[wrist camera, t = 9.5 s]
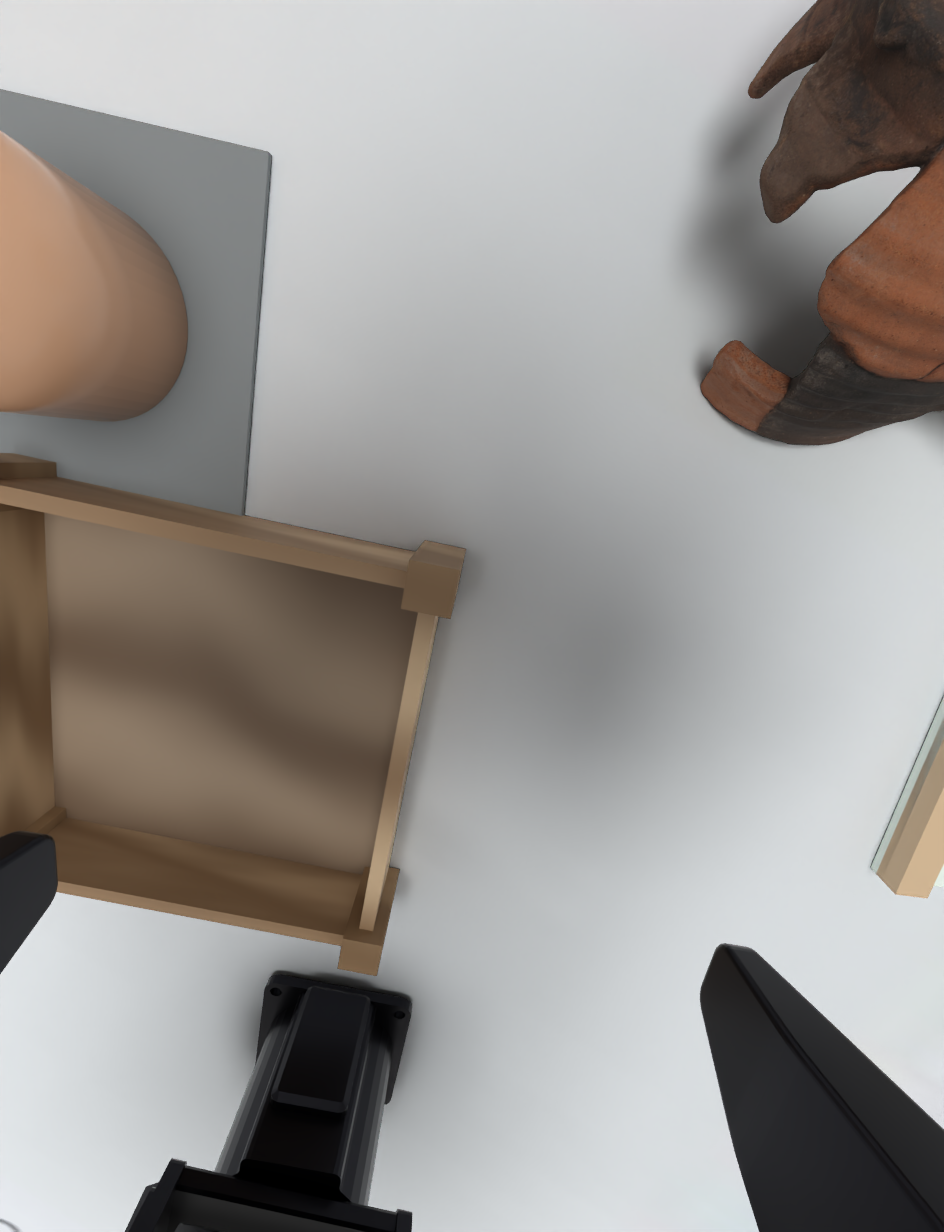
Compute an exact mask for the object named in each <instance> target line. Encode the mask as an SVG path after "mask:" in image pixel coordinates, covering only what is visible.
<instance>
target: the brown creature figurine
mask: <svg viewBox="0 0 944 1232" xmlns="http://www.w3.org/2000/svg"><path fill="white" fill-rule="evenodd" d="M816 62H817V63H816ZM813 63H816V64H815V65H814V66H813V67H812V68H811V69H810V70H809V72H808V73H807V74H806V75H805V76H804V78H803V80H802V82H801V84H800V86H799V88H798V90H797V91H796V93H795V94H794V96H793V97H792V99H791V101H790V103H789V105H788V108H787V111H786V114H785V116H784V120H783V124H782V128H781V132H780V136H779V139H778V142H777V144H776V145H775V147H774V148H773V150H772V151H771V153H770V154H769V156H768V157H767V159H766V160H765V163H764V165H763V167H762V169H761V174H760V189H761V195H762V200H763V206H764V210H765V214H766V215H767V217H768V218H769V220H770V221H771V222H773V223H780V222H782V221H784V220H785V219H787V218H789V217H790V216H791V215H792V214H793V213H795V212H796V211H797V210H798V209H799V208H800V207H801V206H802V205H803V204H804V203H805V202H806V201H807V200H808V199H809V198H810V196H811V195H812V194H813V193H814V192H815V191H817V190H824V189H830V188H834V187H836V186H838V185H840V184H842V183H845V182H848V181H851V180H854V179H857V178H859V177H863V176H866V175H869V174H872V173H875V172H879V171H894V170H898V169H903V168H908V167H920V171H919V173H918V174H917V175H916V177H915V178H914V179H913V180H912V181H911V182H910V183H909V184H908V185H907V186H906V187H905V188H904V189H903V190H902V191H901V192H900V193H899V194H898V195H897V196H896V198H895V199H894V200H893V201H892V202H891V204H890V205H889V206H888V207H887V208H886V209H885V210H884V211H883V212H882V213H881V215H880V216H879V217H878V218H877V219H876V220H875V221H874V222H873V223H872V224H871V225H870V226H869V227H868V228H867V229H866V230H865V231H863V233H862V234H861V235H860V236H859V237H858V238H857V239H856V240H855V241H853V242H852V243H851V244H850V245H849V246H848V247H846V248H845V249H844V250H843V251H842V252H841V253H839V254H838V255H837V256H836V257H835V258H834V259H833V261H832V262H831V263H830V265H829V266H828V268H827V270H826V276H825V279H824V281H823V282H822V285H821V287H820V290H819V293H818V303H817V309H818V312H819V314H820V316H821V318H822V320H823V322H824V324H825V325H826V326H827V327H828V328H829V330H830V335H829V336H827V338H826V339H825V340H824V341H823V342H822V343H821V344H820V345H819V347H818V349H817V351H816V354H815V355H814V357H813V359H812V360H811V362H810V363H809V365H808V366H807V368H806V369H805V370H804V372H802V373H801V374H800V375H798V376H796V377H795V378H790V377H789V376H787V375H785V374H784V373H782V372H780V371H778V370H775V369H773V368H772V367H771V366H770V365H769V364H767V363H766V362H764V361H762V360H761V359H760V358H759V357H758V356H757V355H755V354H754V353H753V352H751V351H750V350H749V349H748V348H747V347H746V346H745V345H744V344H743V343H742V342H741V341H737V340H734V341H731V342H729V343H727V344H726V345H725V346H724V347H723V348H722V349H721V350H720V351H719V353H718V354H717V356H716V357H715V359H714V362H713V367H712V369H711V370H710V371H709V372H708V374H707V375H706V377H705V379H704V380H703V382H702V384H701V391H702V393H703V395H704V396H705V397H706V398H707V399H708V400H709V401H710V403H711V404H712V405H713V406H714V407H715V408H716V409H717V410H719V411H720V412H721V413H723V414H724V415H726V416H727V417H728V418H729V419H730V420H732V421H734V422H735V423H737V424H740V425H741V426H743V427H745V428H746V429H749V430H752V431H755V432H756V433H757V434H759V435H761V436H763V437H767V438H769V439H773V440H777V441H782V442H785V443H787V444H796V445H823V444H831V443H836V442H839V441H843V440H846V439H849V438H851V437H853V436H856V435H859V434H861V433H863V432H865V431H869V430H872V429H876V428H879V427H882V426H886V425H889V424H892V423H895V422H901V421H906V420H910V419H914V418H917V417H919V416H922V415H924V414H926V413H928V412H932V411H944V0H817V2H816V3H815V4H814V5H813V6H812V7H811V8H810V9H809V10H808V11H807V12H806V13H805V14H804V16H803V17H802V18H801V19H800V20H799V21H798V22H797V23H796V24H795V25H794V26H793V27H792V29H791V30H790V31H789V32H788V34H787V35H786V36H785V37H784V38H783V39H782V40H781V42H780V43H779V44H778V45H777V46H776V48H775V49H774V50H773V51H772V53H771V54H770V56H769V57H768V59H767V60H766V62H765V63H764V65H763V66H762V67H761V69H760V70H759V72H758V73H757V75H756V77H755V78H754V80H753V81H752V82H751V84H750V86H749V89H748V94H749V96H750V97H751V98H755V99H758V98H761V97H763V96H764V95H765V94H766V93H767V92H768V91H769V90H770V89H772V88H773V87H774V86H775V85H776V84H778V83H779V82H780V81H781V80H782V79H784V78H785V77H787V76H788V75H790V74H791V73H793V72H795V71H797V70H800V69H802V68H804V67H806V66H808V65H810V64H813Z"/></svg>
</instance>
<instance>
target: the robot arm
mask: <svg viewBox="0 0 944 1232" xmlns="http://www.w3.org/2000/svg"><path fill="white" fill-rule="evenodd" d="M57 886H58V874H57V859H56V844H55V841H54V839H53V838H52V836H50V835H48V834H42V833H36V832H30V831H15V832H12V833H9V834H7V835H4V836H2V837H0V974H1V972H2V971H3V969H4V968H5V967H6V965H7V964H8V963H9V961H10V960H11V958H12V957H13V956H14V954H15V953H16V951H17V950H18V949H19V947H20V946H21V945H22V943H23V942H24V940H25V939H26V938H27V936H28V935H29V933H30V932H31V931H32V929H33V928H34V927H35V925H36V924H37V922H38V921H39V920H40V918H41V917H42V915H43V914H44V913H45V911H46V910H47V909H48V907H49V906H50V904H51V902H52V900H53V899H54V896H55V894H56V891H57ZM700 1003H701V1010H702V1014H703V1019H704V1023H705V1027H706V1032H707V1036H708V1040H709V1045H710V1049H711V1053H712V1058H713V1062H714V1066H715V1071H716V1075H717V1079H718V1084H719V1088H720V1092H721V1097H722V1101H723V1105H724V1110H725V1114H726V1118H727V1123H728V1127H729V1131H730V1135H731V1139H732V1143H733V1147H734V1151H735V1154H736V1158H737V1161H738V1164H739V1168H740V1171H741V1175H742V1178H743V1181H744V1185H745V1188H746V1191H747V1194H748V1197H749V1200H750V1204H751V1207H752V1210H753V1213H754V1216H755V1219H756V1223H757V1226H758V1229H759V1232H944V1129H943V1128H942V1127H941V1126H940V1125H939V1124H937V1123H936V1122H935V1121H934V1120H933V1119H932V1118H931V1117H930V1116H929V1115H928V1114H927V1113H926V1112H925V1111H924V1110H923V1109H922V1108H921V1107H920V1106H918V1105H917V1104H916V1103H915V1102H914V1101H913V1100H912V1099H911V1098H910V1097H909V1096H908V1095H907V1094H906V1093H905V1092H904V1091H903V1090H902V1089H901V1088H899V1087H898V1086H897V1085H896V1084H895V1083H894V1082H893V1081H892V1080H891V1079H890V1078H889V1077H888V1076H887V1075H886V1074H885V1073H884V1072H883V1071H881V1070H880V1069H879V1068H878V1067H877V1066H876V1065H875V1064H874V1063H873V1062H872V1061H871V1060H870V1059H869V1058H868V1057H867V1056H866V1055H865V1054H864V1053H862V1052H861V1051H860V1050H859V1049H858V1048H857V1047H856V1046H855V1045H854V1044H853V1043H852V1042H851V1041H850V1040H849V1039H848V1038H847V1037H846V1036H845V1035H843V1034H842V1033H841V1032H840V1031H839V1030H838V1029H837V1028H836V1027H835V1026H834V1025H833V1024H832V1023H831V1022H830V1021H829V1020H828V1019H827V1018H826V1017H824V1016H823V1015H822V1014H821V1013H820V1012H819V1011H818V1010H817V1009H816V1008H815V1007H814V1006H813V1005H812V1004H811V1003H810V1002H809V1001H808V1000H806V999H805V998H804V997H803V996H802V995H801V994H800V993H799V992H798V991H797V990H796V989H795V988H794V987H793V986H792V985H791V984H790V983H789V982H787V981H786V980H785V979H784V978H783V977H782V976H781V975H780V974H779V973H778V972H777V971H776V970H775V969H774V968H773V967H772V966H771V965H770V964H768V963H767V962H766V961H765V960H764V959H763V958H762V957H761V956H760V955H759V954H758V953H757V952H755V951H754V950H753V949H751V948H748V947H744V946H738V945H732V944H726V943H724V944H720V945H719V946H718V947H717V948H716V950H715V952H714V954H713V957H712V960H711V962H710V965H709V967H708V970H707V973H706V975H705V978H704V980H703V983H702V986H701V991H700ZM411 1011H412V1004H411V1002H410V1001H409V1000H408V999H405V998H402V997H397V996H391V995H386V994H381V993H375V992H370V991H365V990H359V989H354V988H349V987H343V986H338V985H333V984H327V983H322V982H317V981H311V980H306V979H301V978H296V977H290V976H285V975H273V976H271V977H270V978H269V980H268V983H267V985H266V987H265V990H264V998H263V1007H262V1015H261V1023H260V1031H259V1040H258V1048H257V1056H256V1064H255V1068H254V1070H253V1073H252V1075H251V1078H250V1081H249V1083H248V1086H247V1088H246V1091H245V1094H244V1096H243V1099H242V1101H241V1104H240V1106H239V1109H238V1112H237V1114H236V1117H235V1119H234V1122H233V1125H232V1127H231V1130H230V1132H229V1135H228V1137H227V1140H226V1143H225V1145H224V1148H223V1150H222V1153H221V1156H220V1158H219V1161H218V1163H217V1166H216V1168H215V1171H214V1172H213V1171H208V1170H204V1169H200V1168H195V1167H191V1166H186V1164H187V1162H186V1161H182V1160H177V1159H173V1158H172V1159H171V1160H170V1162H169V1164H168V1166H167V1168H166V1170H165V1172H164V1174H163V1176H162V1177H161V1179H160V1181H159V1182H158V1183H155V1184H152V1185H150V1186H147V1187H146V1188H145V1190H144V1192H143V1194H142V1196H141V1199H140V1201H139V1203H138V1205H137V1207H136V1209H135V1211H134V1213H133V1215H132V1218H131V1220H130V1222H129V1224H128V1226H127V1228H126V1230H125V1232H411V1230H412V1212H409V1211H405V1210H400V1209H397V1211H396V1212H392V1211H387V1210H383V1209H378V1208H374V1207H370V1206H368V1200H369V1194H370V1188H371V1182H372V1176H373V1170H374V1164H375V1158H376V1152H377V1145H378V1139H379V1133H380V1127H381V1121H382V1115H383V1109H384V1105H385V1104H388V1103H389V1102H390V1100H391V1097H392V1093H393V1088H394V1084H395V1080H396V1076H397V1072H398V1068H399V1064H400V1059H401V1055H402V1051H403V1047H404V1043H405V1039H406V1034H407V1030H408V1026H409V1022H410V1018H411Z"/></svg>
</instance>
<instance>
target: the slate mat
mask: <svg viewBox="0 0 944 1232" xmlns="http://www.w3.org/2000/svg"><path fill="white" fill-rule="evenodd" d="M0 130H1V131H2V132H4V133H5V134H7V135H8V136H10V137H11V138H13V139H14V140H16V141H17V142H19V143H20V144H22V145H23V146H25V147H26V148H28V149H29V150H31V151H32V152H34V153H35V154H37V155H38V156H40V157H41V158H43V159H44V160H46V161H47V162H49V163H50V164H52V165H53V166H55V167H56V168H58V169H59V170H61V171H62V172H64V173H65V174H67V175H68V176H70V177H71V178H73V179H74V180H76V181H77V182H79V183H80V184H82V185H83V186H85V187H86V188H88V189H89V190H91V191H92V192H94V193H95V194H97V195H98V196H100V197H101V198H103V199H105V200H106V201H108V202H109V203H111V204H112V205H114V206H115V207H117V208H118V209H120V210H121V211H123V212H124V213H126V214H127V215H128V216H130V217H131V218H132V219H133V220H134V221H136V222H137V223H138V224H139V225H140V226H141V227H142V228H143V229H144V230H145V231H146V232H147V233H148V234H149V235H150V236H151V237H152V238H153V240H154V241H155V242H156V243H157V245H158V246H159V247H160V248H161V250H162V252H163V253H164V255H165V256H166V258H167V260H168V261H169V263H170V265H171V267H172V269H173V271H174V273H175V275H176V277H177V280H178V283H179V286H180V288H181V291H182V295H183V299H184V303H185V307H186V314H187V323H188V339H187V349H186V354H185V359H184V363H183V366H182V368H181V371H180V374H179V376H178V378H177V380H176V382H175V384H174V385H173V387H172V388H171V390H170V391H169V392H168V394H167V395H166V396H165V397H164V398H163V399H162V400H161V401H160V402H159V403H158V404H157V405H156V406H154V407H153V408H152V409H150V410H149V411H147V412H145V413H143V414H141V415H139V416H137V417H134V418H130V419H127V420H121V421H114V422H106V421H91V420H81V419H70V418H59V417H48V416H37V415H27V414H16V413H5V412H0V453H15V454H19V455H24V456H29V457H33V458H38V459H43V460H47V461H52V462H56V467H57V477H61V478H66V479H71V480H75V481H80V482H85V483H89V484H94V485H99V486H103V487H108V488H113V489H117V490H122V491H127V492H132V493H136V494H141V495H146V496H150V497H155V498H160V499H164V500H169V501H174V502H179V503H183V504H188V505H193V506H197V507H202V508H207V509H211V510H216V511H221V512H225V513H230V514H235V515H240V516H243V515H244V508H245V495H246V482H247V469H248V456H249V443H250V430H251V417H252V404H253V391H254V378H255V365H256V352H257V339H258V327H259V314H260V301H261V288H262V275H263V262H264V249H265V236H266V223H267V210H268V197H269V184H270V171H271V158H272V156H271V154H270V153H269V152H267V151H263V150H259V149H254V148H250V147H246V146H242V145H237V144H233V143H229V142H225V141H220V140H216V139H212V138H207V137H203V136H199V135H195V134H190V133H186V132H182V131H178V130H173V129H169V128H165V127H160V126H156V125H152V124H148V123H143V122H139V121H135V120H130V119H126V118H122V117H118V116H113V115H109V114H105V113H101V112H96V111H92V110H88V109H83V108H79V107H75V106H71V105H66V104H62V103H58V102H53V101H49V100H45V99H41V98H36V97H32V96H28V95H24V94H19V93H15V92H11V91H6V90H2V89H0Z"/></svg>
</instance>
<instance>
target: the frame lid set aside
mask: <svg viewBox="0 0 944 1232" xmlns="http://www.w3.org/2000/svg"><path fill="white" fill-rule="evenodd" d="M871 869H872V870H873V871H874V872H875V873H876V874H877V875H878V876H879V877H880V878H881V880H882V881H883V882H884V883H885V884H886V885H887V886H888V887H889V888H890V889H891V890H892V891H893V892H894V893H895V894H896V895H905V896H913V897H921V898H928V896H929V894H930V892H931V890H932V888H933V886H937V887H944V697H943V699H942V702H941V704H940V706H939V709H938V711H937V713H936V716H935V718H934V721H933V723H932V725H931V728H930V730H929V732H928V735H927V737H926V739H925V742H924V744H923V746H922V749H921V751H920V753H919V756H918V758H917V760H916V763H915V765H914V767H913V770H912V772H911V774H910V777H909V779H908V781H907V784H906V786H905V788H904V791H903V793H902V795H901V798H900V800H899V802H898V805H897V807H896V810H895V812H894V814H893V817H892V819H891V821H890V824H889V826H888V828H887V831H886V833H885V835H884V838H883V840H882V842H881V845H880V847H879V849H878V852H877V854H876V856H875V859H874V861H873V863H872V866H871Z"/></svg>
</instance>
